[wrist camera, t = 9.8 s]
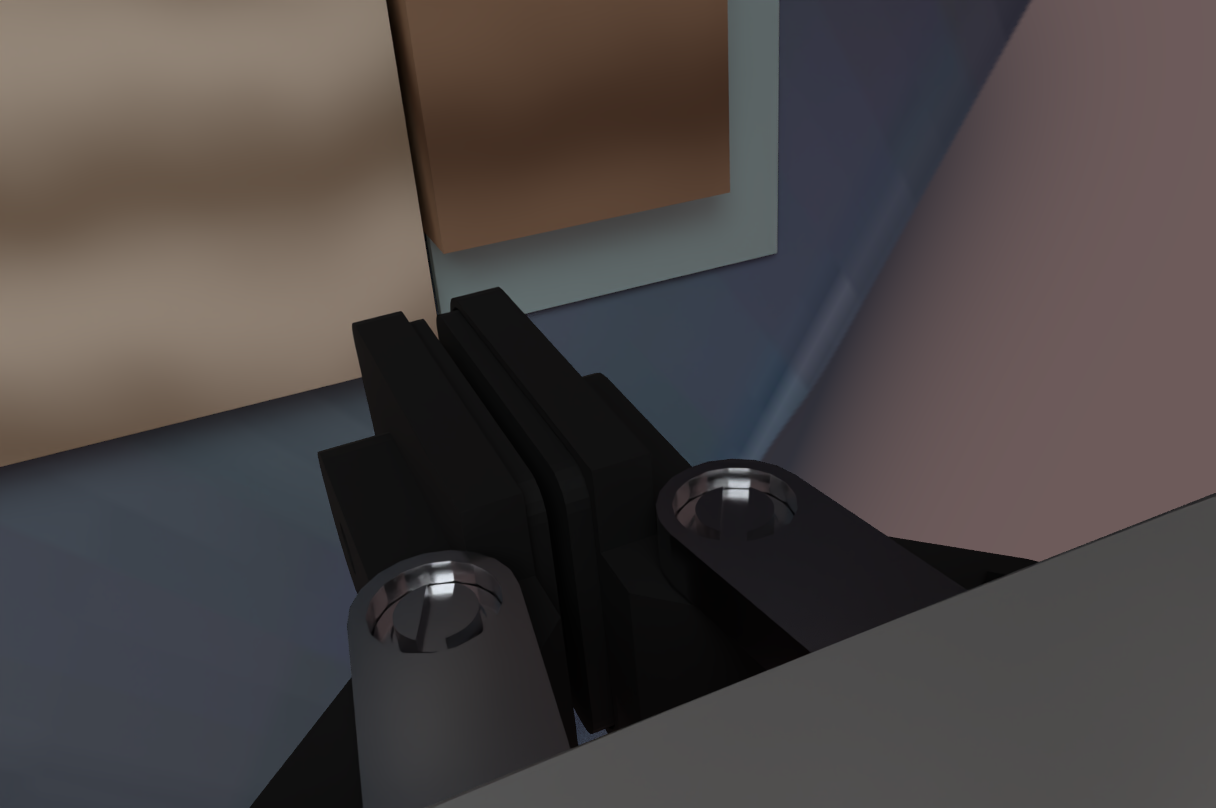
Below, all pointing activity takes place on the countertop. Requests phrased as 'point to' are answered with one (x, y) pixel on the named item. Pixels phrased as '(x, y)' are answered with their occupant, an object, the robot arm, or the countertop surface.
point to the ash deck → (194, 209)
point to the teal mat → (662, 235)
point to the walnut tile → (559, 111)
